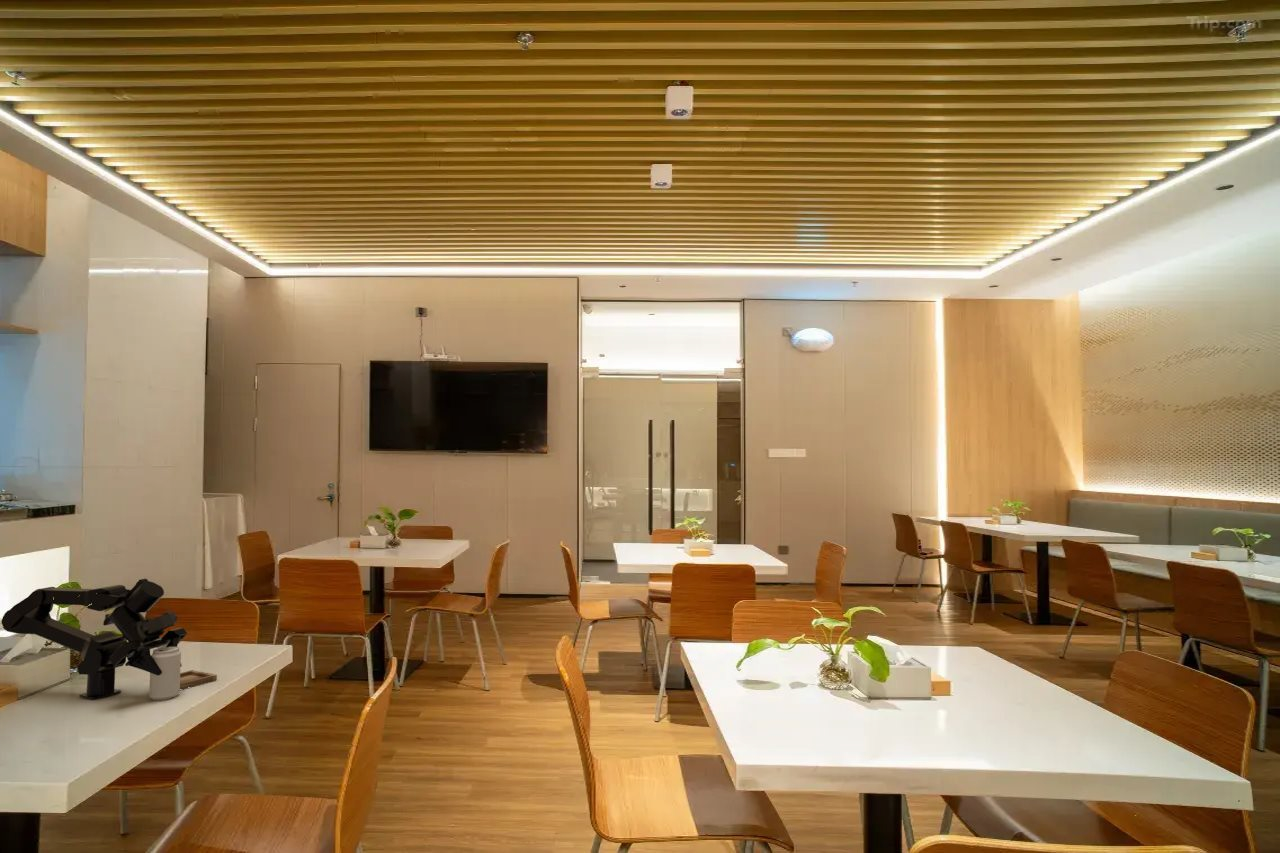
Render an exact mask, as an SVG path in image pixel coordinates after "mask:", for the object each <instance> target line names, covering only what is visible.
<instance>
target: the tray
mask: <svg viewBox="0 0 1280 853" xmlns="http://www.w3.org/2000/svg"><path fill="white" fill-rule="evenodd" d="M217 677H218V675H217V674H214V673H208V672H204V671H199V670H194V669H192V670H191V669H190V670H187V671H183V672H180V689H183V690H185V689H184V688H187V689H189V688H188V687H191V688H194V687H198V686H201V684H202V685H205V683H206V684H209V683H213V682H216V680H218V678H217ZM212 681H213V682H212ZM208 682H209V683H208ZM197 685H198V686H197ZM193 686H194V687H193Z"/></svg>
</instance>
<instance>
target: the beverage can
mask: <svg viewBox="0 0 1280 853" xmlns="http://www.w3.org/2000/svg"><path fill="white" fill-rule="evenodd" d="M150 655H151V656H152V658H153V659H154V660H155V662H156V663H157V665H158V666H159V668H160V669H161V671H162V673H161V675H159V676H158V675H155V674H152V673H150V672H149V688H148V689H149V692H148V693H149V694H148V697H149V698H150V699H151V700H153V701H166V700H169V699H170V698H171V699H173V698H175V697H177V696H178V695H179V694H180V692H181V690H180V673H181V667H182V666H181V664H182V662H181V661H182V651H180V647H179V646H177V647H164V648H156V649H155V648H154V649H153V650H152V653H151V654H150ZM172 697H173V698H172Z"/></svg>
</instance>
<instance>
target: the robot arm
mask: <svg viewBox="0 0 1280 853" xmlns="http://www.w3.org/2000/svg"><path fill="white" fill-rule="evenodd" d="M96 593H97V594H96ZM79 595H80V596H79ZM164 595H165V591H164V588H163V587H162V586H161V585H159V584H158V583H155V582H153V581H149V580H148V579H147V578H141V579H139V580H138V581H137V582H136V583H135V585H134V586H133V587H132V588H131V589H129V588H128V589H127V588H126V586H125V585H123V584H116V585H110V586H105V587H97V588H74V587H73V588H70V587H69V588H68V587H56V586H55V587H54V586H50V587H43V588H37V589H35V590H33V591H32V592H31V593H30V594H29V595H28V596H27V597H26V598H25V597H24V598H23V599H22V600H21V601H19V602H18V603H16V604H14V605H13V606H12V607H11V608H10V609H8V610H7V611H5V612H4V614H3V616H2V619H1V621H0V622H1V625H2V628H3V630H4V631H6V632H9V633H12V634H13V633H14V634H18V635H19V634H20V635H36V636H38V637H41V638H42V639H45V640H48V641H51V642H54V643H55V644H58V645H60V646H63V647H65V648H67V649H70V650H72V651H75V652H77V653H80V654H81V655H80V656H82V661H81V662H79V663H78V665H76V668H77V672H78V675H86V678H87V679H86V692H85V693H80V694H79V697H81V698H85V699H90V700H96V699H101V698H104V697H109V696H112V695H116V694H120V693H122V690H120V689H116V686H115V685H116V668H118V667H123V666H124V665H125V666H126V667H131V668H136V669H140V670H141V671H145V672H147V673H149V674H150V673H152V674H155V675H158V676H159V675H161V673H162V671H161V669H160V668H159V666H158V665H157V663H156V662H155V660H154V659H153V658H152V656H151V655H152V654H151V650H152V649H153V650H154V649H155V648H156V649H158V648H164V647H178V645H179V644H180V643H181V641H182V640H184V639H185V637H186V636H187V635H188V632H187V631H186V630H185V629H184V627H177V628H173V629H170V630H168V631H167V632H166V633H165V630H166V629H168V628H170V627H173V626H175V625H176V622H178V620H179V619H178V615H177V614H176V613H175V612H174V611H173V610H169V611H166V612H165V613H162V615H159V616H156V617H155V618H154V617H153V618H147V619H146V617H145V616H144V615H143V614H142V613H146V612H149V610H151V609H152V607H154V606H155V604H156V603H157V602H158V601H159V600H161V598H162V597H163V596H164ZM78 596H79V597H78ZM53 597H54V600H53ZM91 603H92V605H90V606H88V605H89V604H91ZM54 605H66V606H67V605H69V606H74V605H75V606H82V607H86V606H88V607H86V608H87V609H88V610H92V611H95V612H96V611H97V612H105V611H107V610H108V611H109V610H112V609H113V610H112V611H111V613H106V614H105V616H104V617H105V618H104V620H103V622H102V624H103V626H109V625H114V626H115V627H116V628H117V629H118V631H119V632H120V633H121V634H122V636H121V635H120V636H119V635H116V634H115V633H113V632H111V631H108V632H103V633H100V634H96V635H93V634H91V633H90V632H86V631H84V630H81V629H80V628H76V627H75V626H71V625H70V624H69V625H68V624H66V623H64V622H61V621H60V620H57V619H54V618H53V617H52V615H51V614H50V613H51V612H52V611H53V608H54ZM163 634H164V635H163ZM160 636H162V637H160ZM126 661H127V662H126ZM182 666H183V665H182V663H181V667H182Z"/></svg>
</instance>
